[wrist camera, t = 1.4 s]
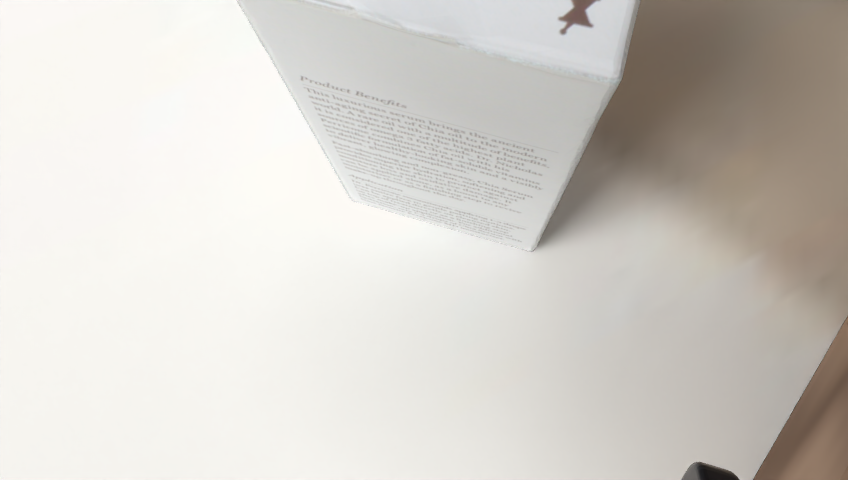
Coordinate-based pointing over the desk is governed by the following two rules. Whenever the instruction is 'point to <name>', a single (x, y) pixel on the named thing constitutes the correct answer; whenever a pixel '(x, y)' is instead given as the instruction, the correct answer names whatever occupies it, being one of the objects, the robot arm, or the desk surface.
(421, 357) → the desk surface
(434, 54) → the skincare box
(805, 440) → the holder block
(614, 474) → the desk surface
